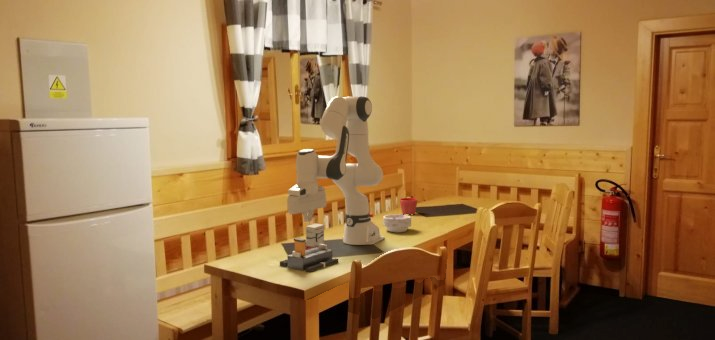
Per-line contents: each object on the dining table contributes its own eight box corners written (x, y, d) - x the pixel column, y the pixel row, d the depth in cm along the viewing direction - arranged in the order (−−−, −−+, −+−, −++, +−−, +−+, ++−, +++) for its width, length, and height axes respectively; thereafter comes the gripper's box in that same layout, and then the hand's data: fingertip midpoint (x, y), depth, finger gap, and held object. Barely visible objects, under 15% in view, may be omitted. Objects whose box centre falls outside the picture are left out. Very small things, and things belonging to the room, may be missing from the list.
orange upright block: (297, 253, 228) (297, 237, 228) (306, 254, 225) (305, 239, 225) (294, 254, 227) (293, 238, 226) (302, 256, 224) (302, 240, 223)
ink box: (314, 252, 250) (314, 227, 249) (305, 251, 253) (305, 226, 252) (324, 248, 258) (324, 223, 257) (315, 247, 260) (315, 223, 259)
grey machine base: (317, 258, 241) (316, 242, 240) (332, 261, 235) (332, 245, 235) (287, 267, 227) (287, 250, 226) (303, 271, 221) (302, 254, 221)
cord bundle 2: (334, 261, 234) (334, 257, 234) (338, 262, 233) (338, 258, 233) (305, 271, 221) (305, 267, 220) (309, 272, 219) (309, 268, 219)
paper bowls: (404, 226, 305) (404, 212, 304) (415, 232, 290) (415, 217, 289) (379, 229, 300) (379, 214, 299) (389, 234, 286) (389, 219, 285)
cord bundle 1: (309, 256, 244) (309, 252, 244) (315, 257, 242) (315, 253, 241) (279, 265, 230) (279, 261, 230) (285, 266, 228) (285, 262, 228)
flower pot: (412, 216, 334) (412, 201, 333) (396, 215, 340) (396, 199, 339) (420, 213, 343) (420, 198, 342) (404, 212, 349) (404, 197, 348)
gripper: (318, 184, 237) (319, 215, 239) (284, 191, 221) (285, 224, 223) (329, 185, 233) (330, 217, 235) (295, 192, 217) (296, 226, 219)
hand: (308, 220), depth 229 cm, fingers closed
